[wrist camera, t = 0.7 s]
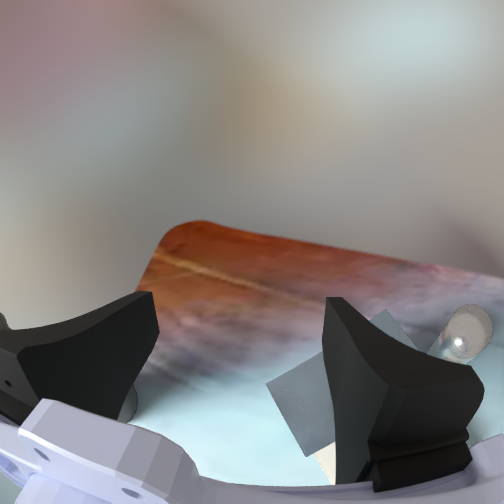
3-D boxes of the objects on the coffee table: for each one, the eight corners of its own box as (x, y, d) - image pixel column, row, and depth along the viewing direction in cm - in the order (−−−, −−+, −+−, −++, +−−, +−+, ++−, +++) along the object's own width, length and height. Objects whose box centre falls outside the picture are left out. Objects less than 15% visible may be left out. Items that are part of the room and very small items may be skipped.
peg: (467, 360, 22) (500, 330, 16) (440, 386, 21) (470, 363, 15) (446, 332, 24) (471, 295, 18) (418, 356, 24) (440, 325, 18)
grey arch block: (409, 394, 22) (434, 371, 16) (317, 452, 22) (305, 457, 15) (376, 347, 26) (385, 308, 19) (288, 402, 26) (265, 383, 19)
